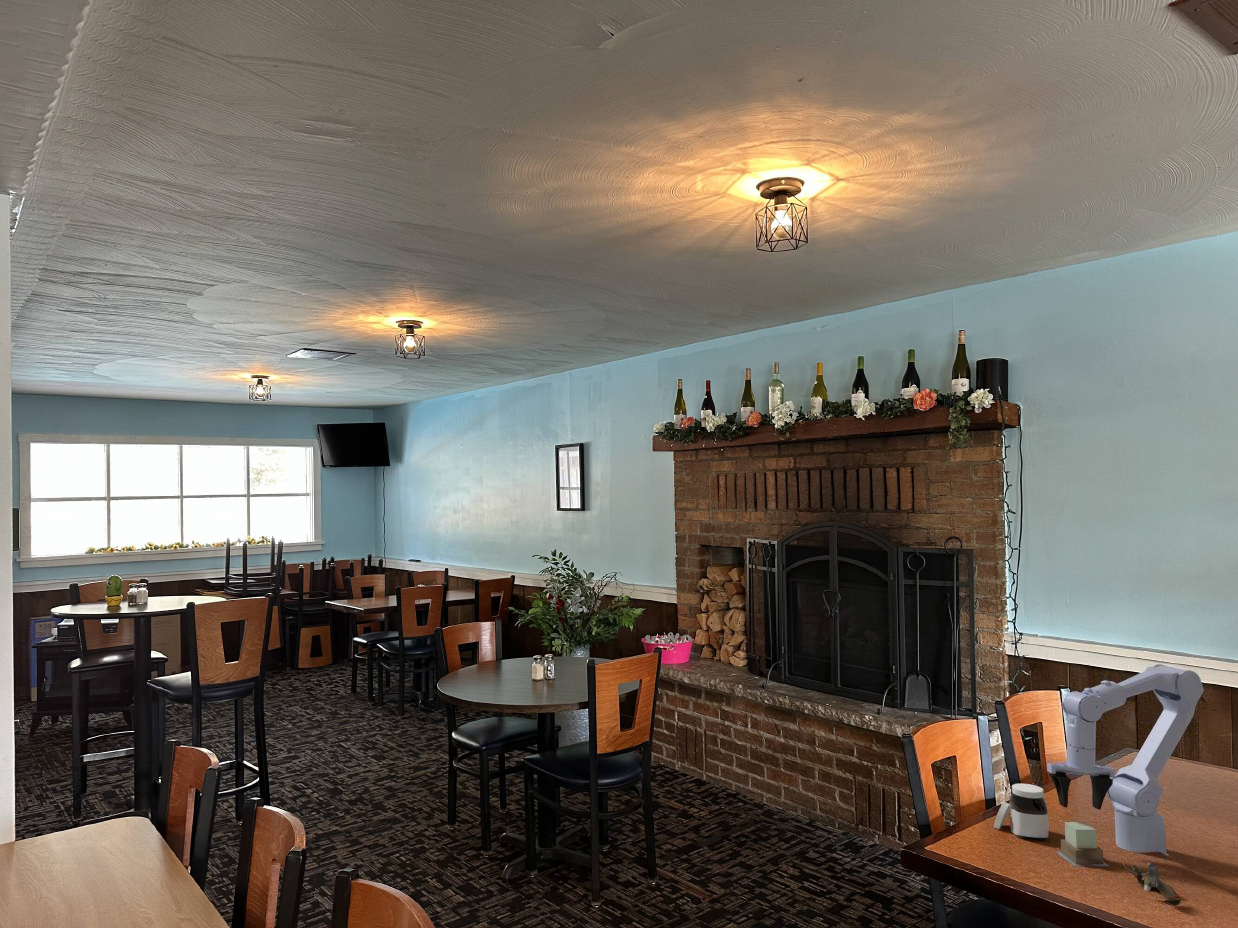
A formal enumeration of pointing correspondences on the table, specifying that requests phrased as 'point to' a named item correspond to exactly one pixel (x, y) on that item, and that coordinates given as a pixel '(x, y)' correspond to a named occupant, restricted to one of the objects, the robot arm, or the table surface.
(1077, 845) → the green block
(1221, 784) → the table surface
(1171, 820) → the table surface
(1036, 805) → the spread jar
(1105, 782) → the robot arm
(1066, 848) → the walnut block
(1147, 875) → the eagle figurine
